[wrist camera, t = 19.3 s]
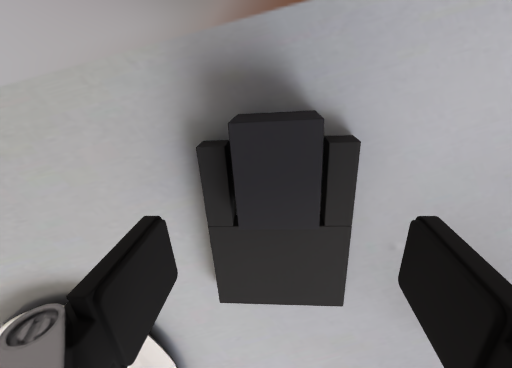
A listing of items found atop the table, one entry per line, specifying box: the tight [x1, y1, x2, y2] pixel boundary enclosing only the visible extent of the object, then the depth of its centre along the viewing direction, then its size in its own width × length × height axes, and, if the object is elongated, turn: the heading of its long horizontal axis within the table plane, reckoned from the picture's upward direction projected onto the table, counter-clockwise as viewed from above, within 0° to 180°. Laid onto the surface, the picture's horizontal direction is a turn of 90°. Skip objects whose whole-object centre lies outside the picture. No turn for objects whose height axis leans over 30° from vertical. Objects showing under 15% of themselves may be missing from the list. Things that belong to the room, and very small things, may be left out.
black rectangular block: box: [228, 111, 324, 230], centre depth 19 cm, size 8×6×4 cm
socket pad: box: [196, 135, 361, 306], centre depth 22 cm, size 16×12×2 cm
